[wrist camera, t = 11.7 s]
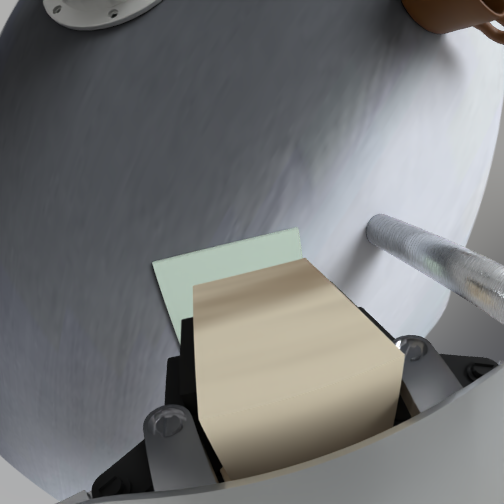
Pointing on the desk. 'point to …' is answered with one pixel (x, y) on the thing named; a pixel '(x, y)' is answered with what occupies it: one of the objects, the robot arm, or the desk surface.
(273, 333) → the beige wooden open box
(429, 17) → the mug
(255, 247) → the mat
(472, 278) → the post
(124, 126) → the desk surface
